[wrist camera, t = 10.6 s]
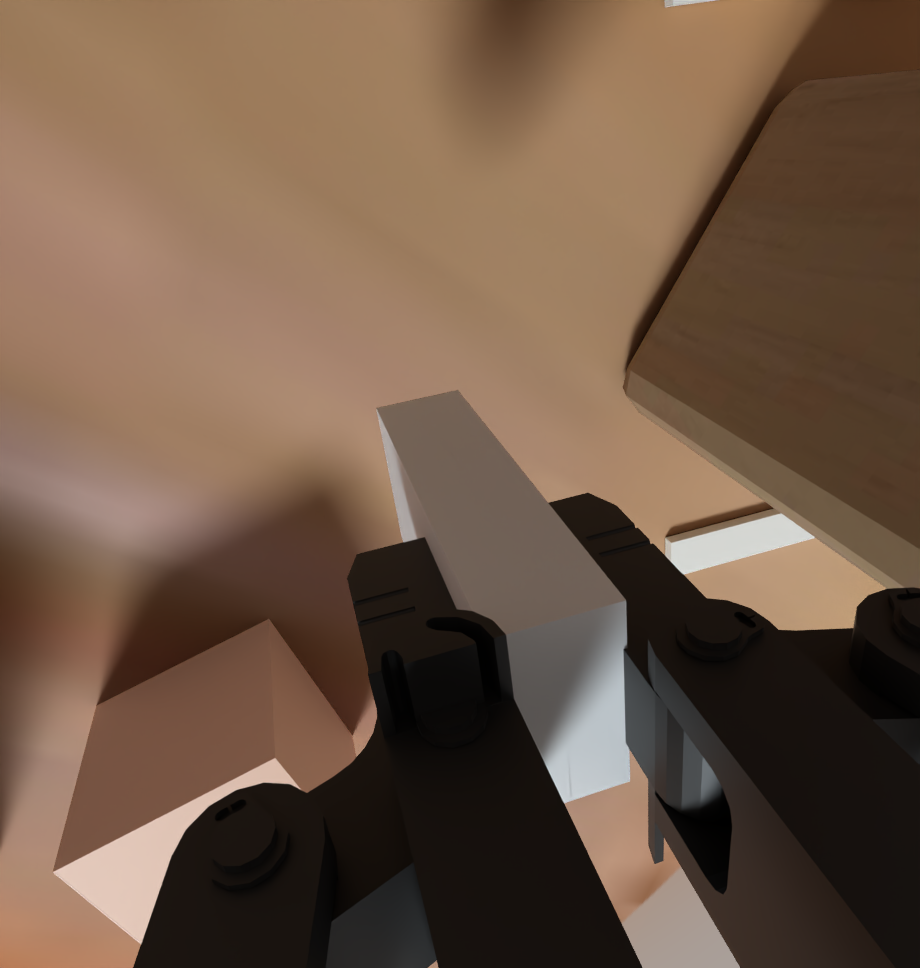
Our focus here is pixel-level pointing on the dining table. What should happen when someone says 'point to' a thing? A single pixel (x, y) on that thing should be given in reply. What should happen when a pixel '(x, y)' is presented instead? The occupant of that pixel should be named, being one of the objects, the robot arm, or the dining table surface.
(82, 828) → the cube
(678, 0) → the strip
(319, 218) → the dining table surface
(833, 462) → the wooden block
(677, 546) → the strip
